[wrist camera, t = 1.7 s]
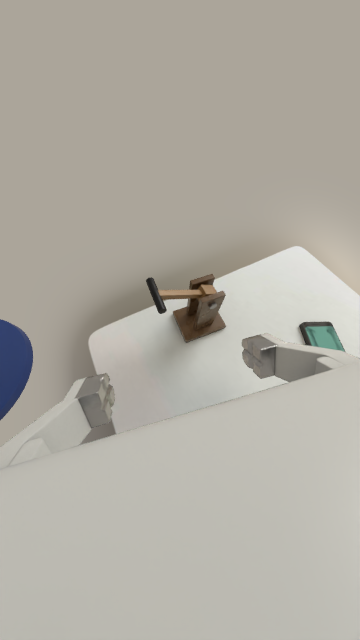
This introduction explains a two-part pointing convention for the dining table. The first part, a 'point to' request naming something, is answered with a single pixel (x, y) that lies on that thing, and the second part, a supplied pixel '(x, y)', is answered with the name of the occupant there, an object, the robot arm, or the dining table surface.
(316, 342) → the smartphone
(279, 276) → the dining table surface
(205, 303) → the switch bracket
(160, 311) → the switch lever
